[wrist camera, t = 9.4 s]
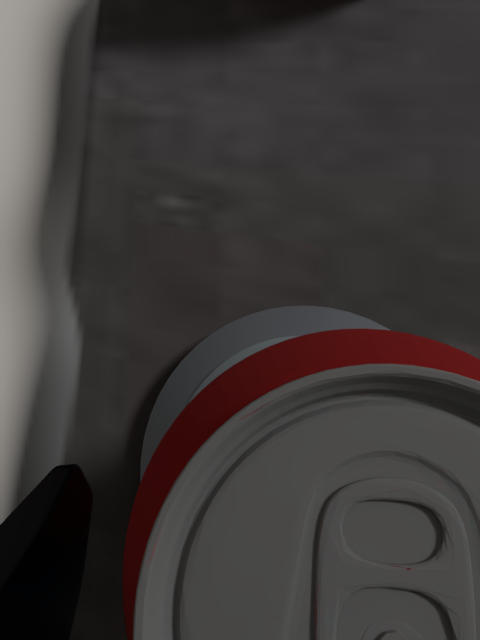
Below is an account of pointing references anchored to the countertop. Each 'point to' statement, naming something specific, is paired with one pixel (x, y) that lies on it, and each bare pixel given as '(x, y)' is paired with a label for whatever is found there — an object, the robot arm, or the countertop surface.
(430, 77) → the countertop surface
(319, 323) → the slate dish
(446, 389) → the beverage can
